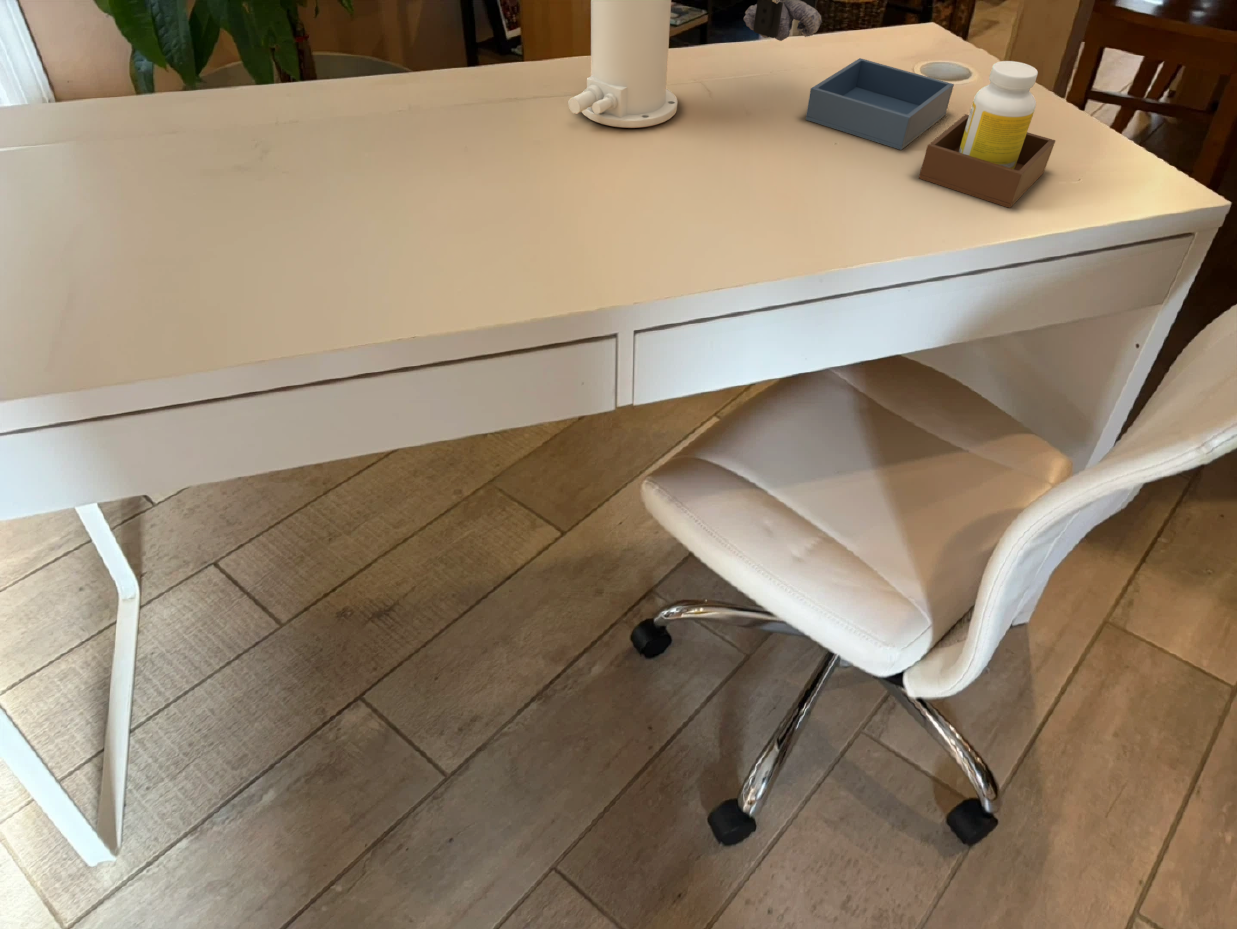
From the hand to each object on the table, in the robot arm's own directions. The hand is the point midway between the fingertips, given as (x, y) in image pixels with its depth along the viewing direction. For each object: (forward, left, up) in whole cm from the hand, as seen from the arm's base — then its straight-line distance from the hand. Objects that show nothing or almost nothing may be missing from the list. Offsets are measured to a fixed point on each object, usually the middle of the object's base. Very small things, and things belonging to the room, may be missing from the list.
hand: (783, 25), depth 113 cm
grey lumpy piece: (0, 0, -2) cm, 2 cm away
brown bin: (-3, -30, -9) cm, 32 cm away
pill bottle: (-3, -30, -9) cm, 31 cm away
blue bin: (+3, -13, -9) cm, 16 cm away
